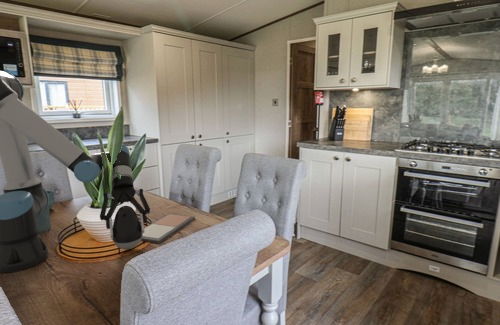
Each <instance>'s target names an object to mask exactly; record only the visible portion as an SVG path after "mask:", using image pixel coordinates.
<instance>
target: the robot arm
mask: <svg viewBox="0 0 500 325" xmlns="http://www.w3.org/2000/svg"><path fill="white" fill-rule="evenodd" d="M24 91H25V89H24V86H23V84H22V82H21V80H20V79H18V77H16V75H13V74H12V73H10V72H8V71H4V70H1V69H0V160H1V165H2V169H3V173H4V176H5V180H6V183H5V185H4V186H3V187H2V189H3V190H2V191H3V193H2V194H0V273H4V274H5V273H14V272H19V271H23V270H27V269H29V268H32V267H34V266H37V265H39V264H40V263H42V262H44V261H45V260H46V259H47V258H48V257H49V250H48V247H47V245H46V244H45V242H44V241H43V239H42V237H41V236H40V233H39V232H38V226H37V220H36V219H37V218H38V217H39V216H40V214H42V213H43V212H44V210H45V209H46V208H47V205H48V202H49V196H48V193H47V191H48V190H46V189H45V188H43V182H42V180H41V179H39V178H37V177H36V174H35V170H34V166H33V162H32V157H31V154H30V150H29V145H28V141H27V138H28V139H29V140H30V141H32V143H34V144H36V145H37V146H38V147H40V148H41V149H42V150H43V151H45V152H46V153H48V154H49V155H50V156H51V157H53V158H54V159H55V160H57V162H59V163H60V164H62V165H63V166H65V167H66V168H67V169H69V170H70V172H72V173H73V174H74V177H75V178H76V179H77V180H78V181H79V182H82V183H90V182H93V181H94V180H95V179H98V177H99V176H100V173H101V172H100V171H101V170H102V166H103V164H102V157H101V153H102V152H97V153H86V152H85V151H84V150H82V148H80V147H79V146H77V145H76V144H75V143H74V142H73V141H71V140H70V139H69V138H67V136H65V135H64V134H63V133H62V132H60V131H59V130H57V129H56V128H55V127H54V126H53V125H52V124H50V123H49V122H47V121H46V120H45V119H44V118H43V117H42V116H40V115H39V114H38V113H37V112H36V111H34V110H33V109H31V107H29V106H28V105H27V104H26V103H25V102H23V98H24V93H25V92H24ZM121 145H122V148H121V152H120V153H118V155H117V160H116V161H115V163H114V164H113V173H112V178H111V188H112V191H111V192H110V193H107V192H103V201H102V206H101V210H100V214H99V220H100V221H105V227H106V229H107V230H109V234H110V239H112V238H113V219H112V218H113V217H112V216H113V214H114V213H115V211H116V210H117V207H118V206H119V205H120V204H123V203H129V202H130V204H132V205H133V206H134V208H135V209H136V210H137V211H138V212H139V221H140V224H141V229H142V233H144V228H145V225H144V224H146V223H147V214H148V215H149V214H150V213H151V208H150V205H149V203H148V201H147V199H146V197H145V196H144V189H143V188H139V189H138V190H137V189H135V188H134V187H135V186H134V179H133V178H134V177H133V171H132V162H131V154H130V150H129V147H128V146H126V145H125V144H121ZM105 153H106V155H107V158H108V160H109V162H111V156H110V153H109V151H106V152H105ZM87 154H89V155H87ZM119 161H120V162H119ZM117 171H119V173H120V175H121V179H119V178H118V177H117V174H116V172H117ZM112 179H113V180H112ZM135 195H137V196H138V197H139V200H140V201H141V204H142V205H143V206H141V204H140V203H139V201H138V200H137V199H135V197H134V196H135ZM111 198H113V199H114V200H113V202H112V204H111V205H110V208H109V209H108V205H109V200H110V199H111ZM107 209H108V212H107Z"/></svg>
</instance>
